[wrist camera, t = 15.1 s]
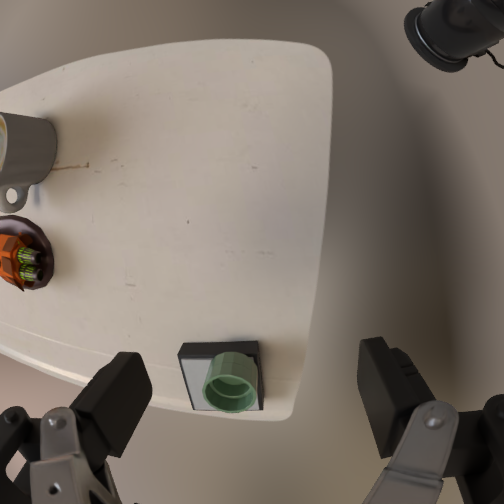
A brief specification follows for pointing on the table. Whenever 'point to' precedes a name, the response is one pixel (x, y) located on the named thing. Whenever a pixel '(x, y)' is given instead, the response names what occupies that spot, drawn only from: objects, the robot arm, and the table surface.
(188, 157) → the table surface
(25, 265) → the toy spacecraft
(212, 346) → the scale
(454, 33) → the robot arm
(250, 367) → the green cup
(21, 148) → the coffee mug
